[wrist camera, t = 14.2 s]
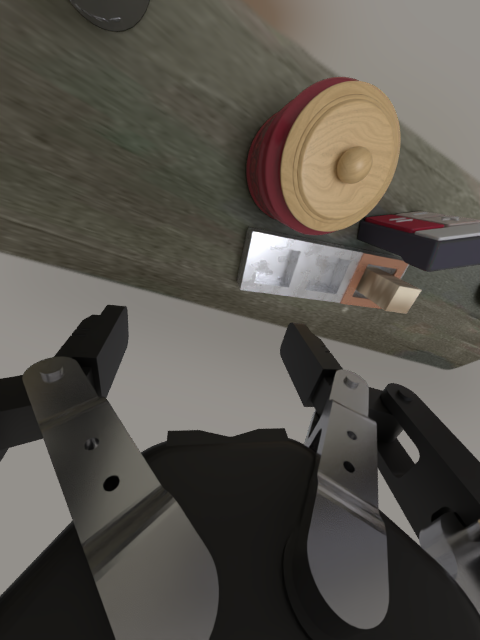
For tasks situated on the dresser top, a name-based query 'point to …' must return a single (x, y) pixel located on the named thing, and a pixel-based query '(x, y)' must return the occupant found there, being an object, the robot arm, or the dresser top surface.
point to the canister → (325, 156)
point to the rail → (309, 267)
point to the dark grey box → (425, 239)
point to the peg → (387, 290)
